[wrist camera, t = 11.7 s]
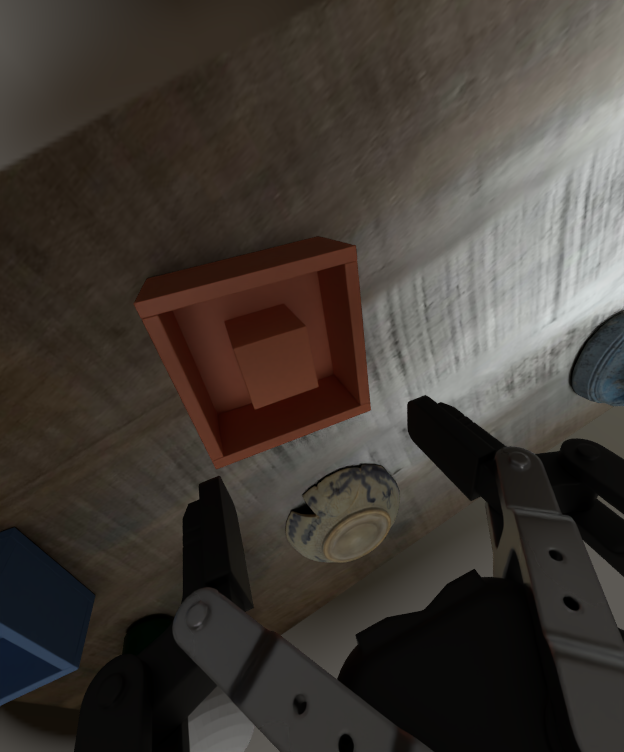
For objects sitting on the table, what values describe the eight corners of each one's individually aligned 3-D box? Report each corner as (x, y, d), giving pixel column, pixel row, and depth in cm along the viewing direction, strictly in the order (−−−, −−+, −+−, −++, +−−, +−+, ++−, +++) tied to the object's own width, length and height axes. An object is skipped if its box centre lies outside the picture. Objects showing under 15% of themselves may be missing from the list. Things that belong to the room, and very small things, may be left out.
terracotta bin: (146, 278, 19) (132, 303, 15) (318, 235, 22) (356, 245, 17) (210, 419, 25) (216, 469, 21) (339, 374, 28) (371, 410, 23)
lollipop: (243, 539, 34) (276, 734, 21) (231, 574, 36) (255, 771, 23) (181, 545, 31) (179, 772, 19) (172, 583, 33) (164, 809, 21)
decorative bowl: (373, 545, 44) (418, 463, 38) (387, 571, 41) (438, 486, 35) (271, 559, 37) (306, 464, 32) (278, 591, 34) (318, 492, 29)
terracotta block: (223, 320, 21) (232, 349, 17) (284, 303, 22) (306, 325, 18) (242, 374, 24) (254, 410, 20) (296, 356, 25) (319, 387, 20)
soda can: (170, 607, 35) (164, 767, 25) (179, 629, 37) (176, 783, 27) (119, 625, 33) (91, 803, 23) (131, 646, 36) (111, 816, 26)
